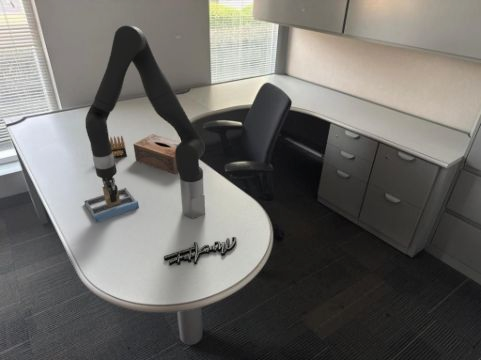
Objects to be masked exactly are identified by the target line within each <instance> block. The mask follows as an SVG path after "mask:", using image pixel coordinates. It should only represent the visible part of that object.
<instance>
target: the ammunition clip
mask: <svg viewBox="0 0 481 360" xmlns="http://www.w3.org/2000/svg"><path fill="white" fill-rule="evenodd" d="M109 137H110V138H109V140H110V143H111V147H112V152H113V155H114V159H119V158H125V157H126V158H127V157H128V154H127V150H126V144H125V141H124V137H123V135H121V136H119V135H117V137H116V136H114V137H113V138H112V136H109Z"/></svg>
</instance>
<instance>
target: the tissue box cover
mask: <svg viewBox="0 0 481 360" xmlns="http://www.w3.org/2000/svg"><path fill="white" fill-rule="evenodd" d="M180 143H181V141H179V140H178V141H177V140H174V139H171V138H168V137H164V136H162V135H157V134H155V133H152V134H149V135H148V136H146V137H143V138H142V139H140V140H138V141H137V142H134V143H133V145H132V146H133V150H134V151H133V152H134V156H135V161H136V162H138V163H141V164H143V165H147V166H151V167H152V166H153V168H155V169H158V170H161V171H164V172H166V171H167V173H170V174H172V175H177V174H179V173H178V171H177V165H176V158H175V150H176V147H177V146H178V145H179V144H180Z"/></svg>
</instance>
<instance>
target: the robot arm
mask: <svg viewBox="0 0 481 360" xmlns="http://www.w3.org/2000/svg"><path fill="white" fill-rule="evenodd" d="M111 45H112V46H111V50H110V55H109V59H108V62H107V66H106V68H105V71H104V73H103V74H104V75H103V76H102V79H101V81H100V84H99V86H98V89H97V92H96V94H95V96H94V98H93V99H94V100H93V102H92V104H91V106H90V108H89V109H88V112H87V113H86V116H85V120H84V121H85V130H86V133H87V137H88V141H89V143H90V148H91V153H92V161H93V165H94V166H93V167H94V169H95V173H96V176H97V177H98V178H100V179H101V181H102V185H103V187H104V186H106V189H107V191H108V192H109V195H110V200H111V202H112V203H113V202H116V201H117V199H116V195H117V187H118V185H117V184H116V179H115V175H117V172H118V171H117V165H116V161H115V160H116V158H114V155H113V152H112V147H111V142H110V138H109V137H110V136H109V130H108V123H107V121H108V119H109V116H110V114H111V112H113V111H114V109H115V108H116V105H117V103H118V100H119V98H120V95H121V93H122V90H123V86H124V82H125V78H126V74H127V71H128V69H129V67H130V65H131V63H133V65H134V67H135V68H136V70H137V72H138V75H139V77H140V80H141V83H142V86H143V90H144V92H145V95H146V97H147V99H148V101H149V103H150V105H151V106H152V108H153V110H154V111H155V113H156V114H157V115H158V116H159V117H160V118H161V119H162V120H164V121H166V122H167V124H169V125H170V126H171V127H173V129H174V131H176V134H177V135H178V137H179V139H180V142H181V143H180V144H179V145H178V146H177V147H176V150H175V158H176V165H177V171H178V173H177V174H178V175H179V184H180V186H179V187H180V199H181V209H182V213H183V215H185V216H186V217H189V218H191V219H196V218H197V217H200V216H203V215H205V214H206V201H205V199H206V198H205V192H204V191H205V190H204V189H205V187H204V170H203V168H202V167H201V166H200V162H199V161H200V159H201V157H202V156H203V155H204V153H205V151H206V146H205V142H204V141H203V139H202V137H201V136H200V134H199V133H198V131H197V130H196V128H195V127H194V126H193V124H192V122H191V120H190V119H189V117H188V116H187V113H186V111H185V110H184V107H182V104H181V103H180V100H179V99H178V96H177V94H176V92H175V90H174V89H173V87H172V85H171V83H170V82H169V79H167V77H166V76H165V74H164V72H163V70H162V69H161V67H160V66H159V64H158V63H157V60H156V58H155V56H154V54H153V52H152V49H151V47H150V45H149V42H148V39H147V37H146V35H145V33H144V32H143V31H142V30H141V29H140V28H139V27H137V26H135V25H127V24H126V25H121V26H120V27H118V28H117V29H116V31H115V32H114V36H113V40H112V44H111ZM115 184H116V185H115ZM108 187H110V188H108Z"/></svg>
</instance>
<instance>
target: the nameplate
mask: <svg viewBox="0 0 481 360" xmlns="http://www.w3.org/2000/svg"><path fill="white" fill-rule="evenodd" d="M231 241H232V243H231V244H230V238H226V240H225V241H224V242H220V241H214V245H211V246H210V245H209V244H204V245H203V246H201V247H200V249H199V246H198V245H199V244H198V243H197V241H194V242H193V246H192V247H189V248H186V249H185V248H184V249H182V250H179V251H175V252H173V253H170V254H167V255H164V256H163V260H164V261H165V262H166V261H168V266H173V265H174V264H176V265H177V266H181V262H187V263H191V262H192V260H193V265H195V264H196V265H198V262H197V261H199V259H200V256H203V255H210V253H217V252H218V253H220V256H221V257H224V256H225V255H226V254H227V253H229V252H231V251H232V250H234V248H235V247H236V244H237V237H235V236H232V237H231Z"/></svg>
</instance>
